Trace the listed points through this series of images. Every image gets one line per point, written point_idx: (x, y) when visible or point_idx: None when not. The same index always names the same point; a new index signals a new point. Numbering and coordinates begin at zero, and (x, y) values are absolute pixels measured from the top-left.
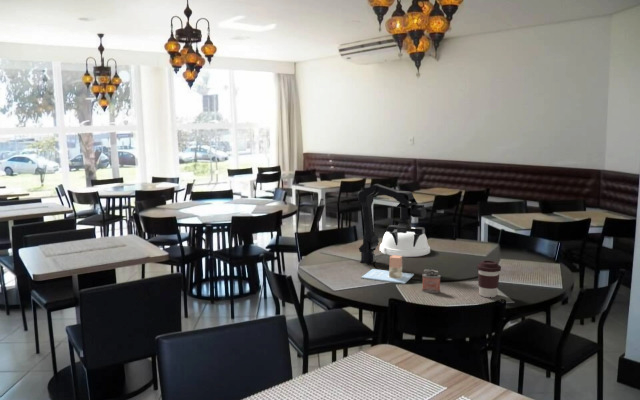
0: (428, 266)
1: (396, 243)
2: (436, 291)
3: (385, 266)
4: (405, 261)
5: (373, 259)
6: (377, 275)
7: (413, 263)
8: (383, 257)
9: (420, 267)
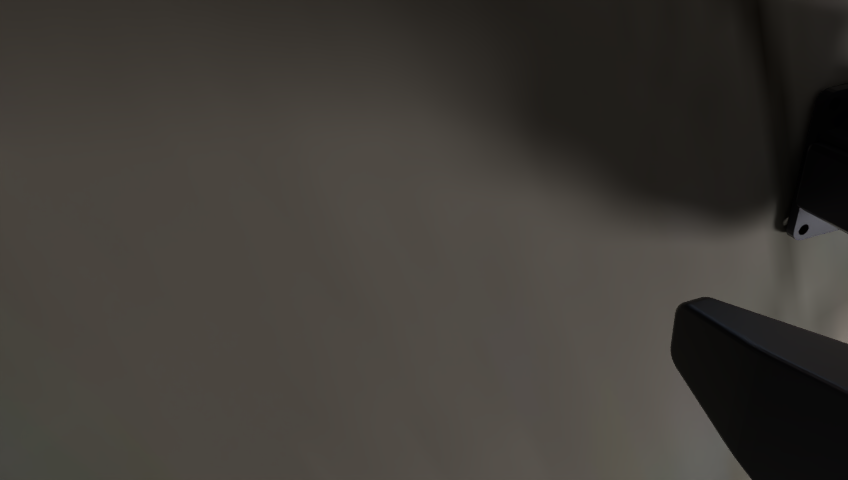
0: (69, 466)
1: (744, 332)
2: None
3: (612, 100)
4: (456, 445)
5: (832, 172)
6: None
7: (331, 443)
8: None
9: (134, 361)
